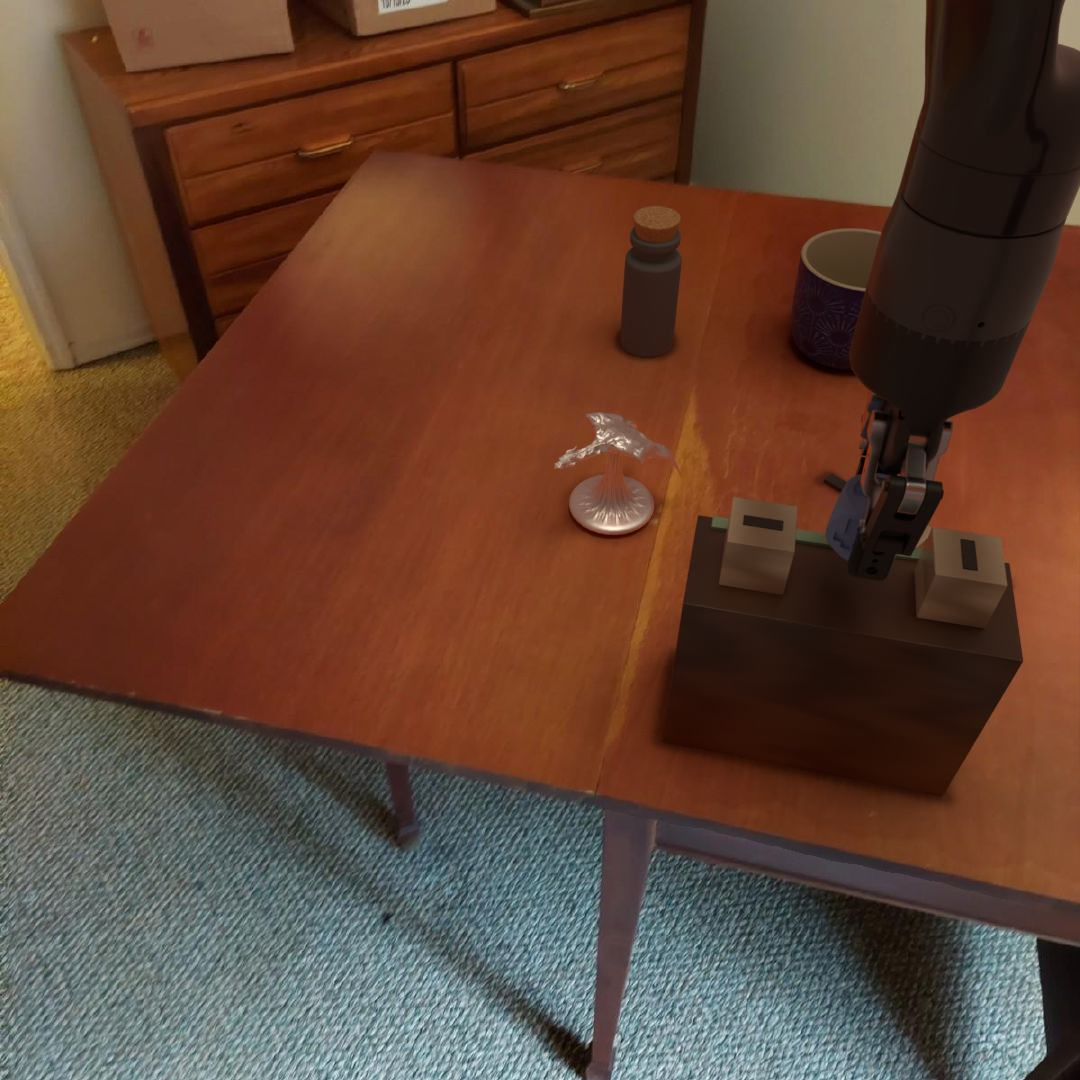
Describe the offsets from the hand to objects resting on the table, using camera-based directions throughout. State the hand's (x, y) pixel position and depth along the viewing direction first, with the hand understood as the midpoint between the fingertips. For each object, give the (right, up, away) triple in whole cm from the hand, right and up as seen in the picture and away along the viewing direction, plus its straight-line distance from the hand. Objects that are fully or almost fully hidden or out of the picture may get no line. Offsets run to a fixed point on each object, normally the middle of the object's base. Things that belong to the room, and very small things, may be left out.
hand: (865, 538), depth 57 cm
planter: (+13, +21, +48) cm, 54 cm away
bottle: (-8, +22, +49) cm, 54 cm away
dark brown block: (0, -14, +15) cm, 20 cm away
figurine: (-13, +2, +31) cm, 33 cm away
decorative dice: (0, 0, 0) cm, 1 cm away
